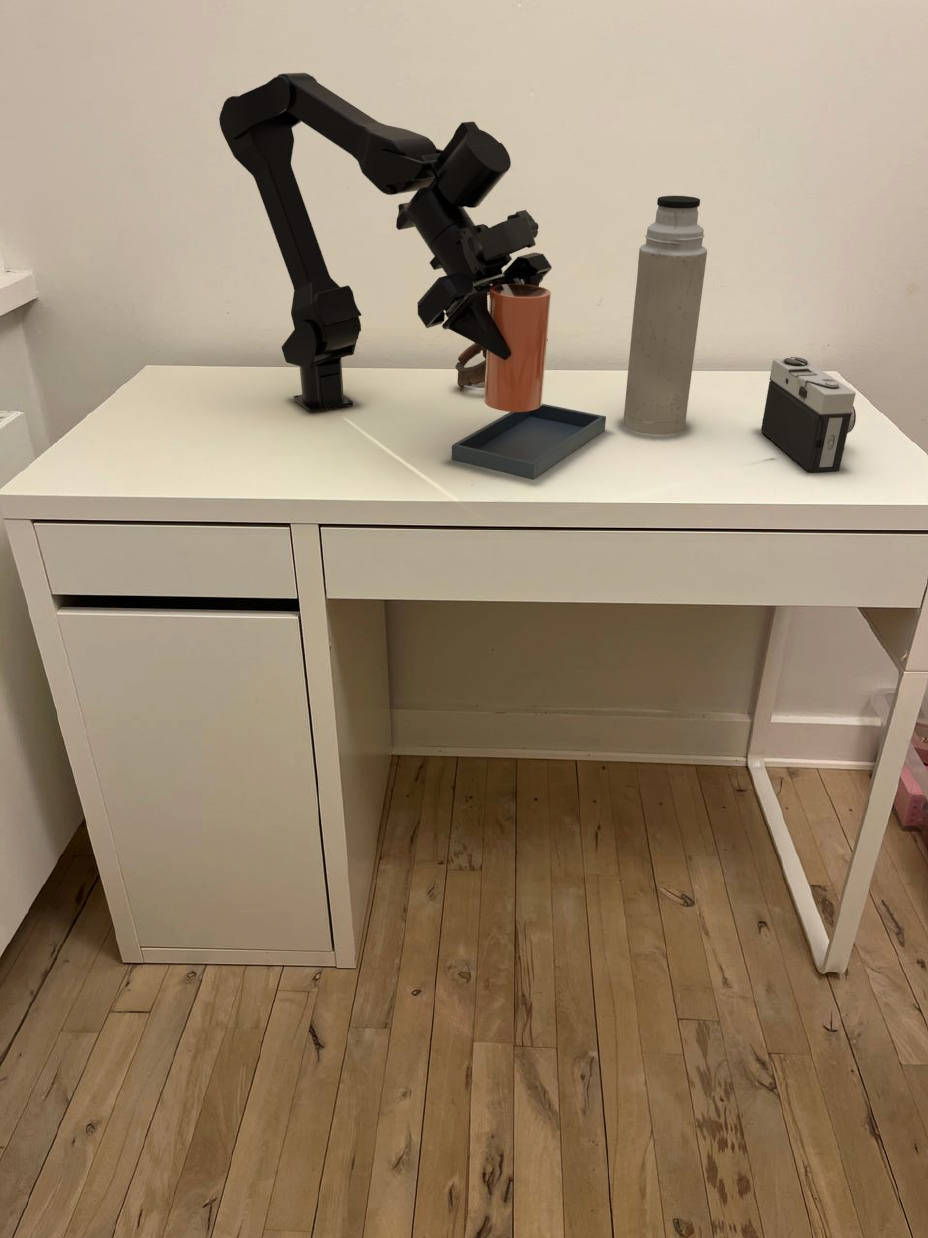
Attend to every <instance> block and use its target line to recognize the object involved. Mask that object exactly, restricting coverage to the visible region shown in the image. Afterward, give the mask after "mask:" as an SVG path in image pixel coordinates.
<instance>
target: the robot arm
mask: <svg viewBox="0 0 928 1238" xmlns="http://www.w3.org/2000/svg"><path fill="white" fill-rule="evenodd" d="M218 121H219V127H220V131H221V133H222V135H223V137H224V140H225V141H226V143H227V146H228V148H229V149H230V152H231V154H232V156H233V158H234V159H235V160H236V161H237V162H238V163H239V164H240V165H241V166H242V167H243V168H244V169H245V170H246V171H248V172H249V174H250V175H251V176H252V177H253V179H254V182H255V184H256V187H257V190H258V192H259V196H260V198H261V201H262V203H263V206H264V209H265V211H266V212H265V213H266V215H267V217H268V220H269V223H270V226H271V228H272V231H273V234H274V237H275V240H276V242H277V245H278V248H279V250H280V251H279V252H280V254H281V256H282V259H283V261H284V265H285V267H286V270H287V273H288V275H289V279H290V282H291V285H292V288H293V295H292V296H293V297H292V303H291V309H290V317H291V319H292V320H291V321H292V325H293V328H294V329H293V331H292V332H291V333H290V335H289V336H288V337H287V339H286V340H285V341H284V343H283V344H282V346H281V352H282V354H283V357H284V360H285V363H287V364H290V365H294V366H297V367H299V375H300V388H301V394H297V395H293V401H295V402H296V403H297V404H299V405H300V406H301V407H303V408H304V409H305V410H306V411H308V412H309V413H315V412H322V411H326V410H333V409H338V408H344V407H349V406H353V405H354V401H353V400H352V399H351V398H349V397H348V396H346V395H345V394H344V377H343V365H342V364H343V363H342V361H343V360H342V359H343V358H345V357H349V356H353V355H355V352H356V351H355V350H356V345H357V342H358V340H359V336H360V332H361V331H362V324H361V319H360V317H361V316H362V312H361V311H360V310H359V308H358V306H357V302H356V300H355V295H354V291H353V290H352V288H351V287H350V285H344V286H340V285H339V284H338V283H337V282H336V281H335V280H334V279H333V278H332V277H331V275H330V272H329V270H328V267H327V264H326V262H325V259H324V255H323V252H322V250H321V247H320V244H319V241H318V238H317V235H316V232H315V229H314V227H313V224H312V221H311V218H310V214H309V213H308V210H307V207H306V204H305V201H304V199H303V195H302V192H301V190H300V187H299V184H298V181H297V178H296V175H295V173H294V169H293V167H292V159H293V153H294V152H293V151H294V145H295V136H294V130H293V128H294V127H296V126H297V125H299V124H300V123H303V124H305V125H306V126H308V127H309V128H311V129H312V130H313V131H315V132H316V133H318V134H319V135H321V136H322V137H324V138H325V139H327V140H328V141H330V142H331V143H333V144H334V145H335V146H337V147H338V148H340V149H342V150H343V151H344V152H346V153H348V154H349V155H351V156H352V157H353V158H354V159H355V160H356V161H357V162H358V166H359V169H360V171H361V174H363V176H364V177H365V178H366V179H367V180H368V181H369V182H370V183H371V184H372V185H373V186H374V187H376V189H377V190H378V191H380V193H382V194H385V195H387V196H394V195H400V194H405V193H412V192H415V193H414V195H413V196H412V198H411V199H410V200H409V201H408V202H404V203H403V202H402V203H399V204H398V206H397V207H398V213H397V216H396V221H395V222H396V223H395V227H396V229H397V230H398V231H401V230H406V229H411V228H415V229H416V231H417V232H418V234H419V235H420V237H421V238H422V240H423V242H424V243H425V244H426V246H427V248H428V249H429V250H430V253H432V255H433V258H432V259H431V260H430V261H429V265H430V267H431V268H432V269H433V271H435V270H436V271H437V270H441V269H442V271H443V272H444V273H445V275H443V276H440V277H438V278H437V279H436V280H435V281H434V283H433V284H432V285H431V286H430V287H429V288H428V289H427V291H426V292H425V293H424V294H423V296H422V297H420V299H419V300H418V301H417V316H418V318H419V319H420V320H421V322H422V324H423V325H424V327H425V328H426V329H430V328H433V327H436V326H439V325H441V328H442V329H443V330H445V331H446V330H450V331H452V332H453V333H455V334H457V335H460V336H462V337H463V338H465V339H467V340H469V341H471V342H472V343H476V344H478V345H480V346H481V347H483V348H485V349H486V350H488V351H490V352H491V353H493V354H495V355H496V356H498V357H500V358H501V359H503V360H507V359H508V358H509V357H510V356H511V352H510V349H509V347H508V345H507V343H506V341H505V339H504V338H503V336H502V334H501V332H500V330H499V329H498V327H497V325H496V323H495V322H494V320H493V318H492V316H491V315H490V313H489V299H488V297H489V296H490V288H492V287H494V286H497V285H504V284H525V285H533V286H539V287H540V284H541V283H542V282H543V280H544V278H545V276H547V274H549V273H550V271H551V270H552V268H553V267H552V265H551V263H550V261H549V260H548V259H547V257H546V256H545V255H544V253H539V252H530V253H527V254H523V255H519V256H516V258H515V259H514V260H513V258H512V256H511V255H512V254H514V253H516V252H519V251H521V250H524V249H526V248H528V249H530V248H533V247H535V246H536V245H537V244H536V240H535V238H537V236H538V234H539V223H538V222H537V221H535V219H534V218H533V216H532V215H531V214H530V213H529V212H528V211H527V210H526V209H523V210H518V211H516V212H515V213H514V214H509V215H507V218H506V220H504V221H501V222H499V223H497V224H495V225H492V226H490V227H489V226H488V225H487V224H485V223H481V224H475V223H474V221H473V219H472V217H470V215H469V214H468V212H467V210H466V209H465V208H468V209H469V208H470V209H474V208H477V207H479V206H480V205H481V204H482V203H483V201H485V199H486V198H487V196H489V194H490V193H492V190H494V189H495V186H497V184H498V183H499V182H500V181H501V180H502V179H503V177H504V176H505V175H506V174H507V173H508V171H509V170H510V169H511V166H512V161H511V157H510V154H509V152H508V150H507V148H506V147H505V145H504V144H503V143H502V142H499V141H498V140H497V139H496V138H495V137H494V136H493V135H492V134H490V133H488V132H487V131H486V130H483V129H480V128H479V127H478V125H477V123H476V122H475V121H464V122H461V123H460V124H459V126H458V127H457V128H456V129H455V131H454V134H453V136H452V138H451V139H450V140H449V141H448V142H447V144H446V146H445V147H444V148H443V149H440V148H437V146H436V144H435V143H434V142H433V141H432V139H430V138H429V137H427V136H425V135H423V134H420V133H417V132H414V131H412V130H409V129H406V128H402V127H398V126H397V127H396V126H392V125H389V124H385V123H382V122H379V121H378V120H376V119H375V118H373V117H371V116H370V115H369V114H367V113H365V112H364V111H362V110H361V109H360V108H358V107H356V106H354V105H353V104H352V103H350V102H348V101H347V100H345V99H344V98H342V97H341V96H339V95H338V94H337V93H336V92H335V93H334V92H333V91H332V90H330V89H329V88H327V87H325V86H324V85H323V84H321V83H319V82H318V81H317V79H316V78H315V77H314V76H313V75H310V73H307V72H288V73H287V72H285V73H279V74H278V75H276V76H275V77H273V78H272V79H271V80H269V81H268V82H266V83H265V84H262V85H260V86H258V87H255V88H252V89H251V90H248V91H246V92H244V93H242V94H240V95H231V96H229V97H227V98H226V100H225V101H224V102H223V105H222V108H221V111H220V113H219V118H218ZM512 260H513V261H512ZM511 261H512V262H511ZM510 262H511V263H510ZM509 263H510V264H509ZM505 266H507V267H506V269H505V270H503V268H504V267H505ZM446 317H447V319H446V320H445V318H446ZM548 341H549V340H548V338H547V342H548Z"/></svg>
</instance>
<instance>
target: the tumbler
mask: <svg viewBox="0 0 928 1238" xmlns="http://www.w3.org/2000/svg"><path fill="white" fill-rule="evenodd" d="M488 297H489V299H488V311H489V313H490V315H491V316H492V318H493V320H494V322H495V323H496V325H497V327H498V329H499V330H500V332H501V334H502V336H503V338H504V339H505V341H506V343H507V345H508V347H509V349H510V352H511V356H510V357H509V358H508V359H507V360H503V359H501V358H500V357H498V356H496V355H495V354H493V353H491V352H490V351H488V350H487V354H486V373H485V382H484V394H483V402H484V404H485V405H486V406H487V407H488V408H491V409H494V410H498V411H501V412H508V413H509V412H527V411H532V410H536V409H538V408H540V407H541V405H542V404H543V396H544V395H543V394H544V383H545V371H546V357H547V346H548V341H547V339H548V335H549V321H550V310H551V299H552V292H551V290H550V289H548V288H546V287H543V286H540V285H539V286H533V285H525V284H504V285H497V286H494V287H492V288H490V295H488Z"/></svg>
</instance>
